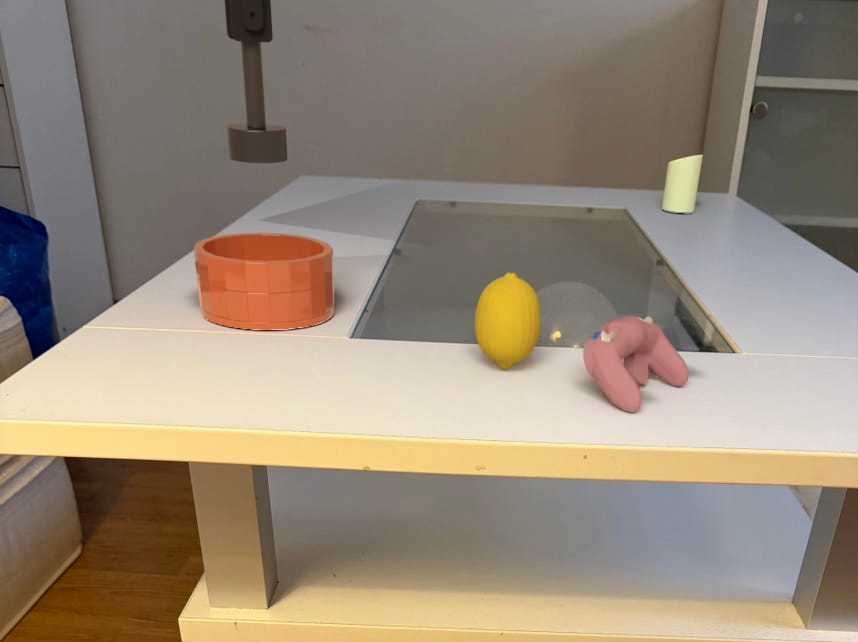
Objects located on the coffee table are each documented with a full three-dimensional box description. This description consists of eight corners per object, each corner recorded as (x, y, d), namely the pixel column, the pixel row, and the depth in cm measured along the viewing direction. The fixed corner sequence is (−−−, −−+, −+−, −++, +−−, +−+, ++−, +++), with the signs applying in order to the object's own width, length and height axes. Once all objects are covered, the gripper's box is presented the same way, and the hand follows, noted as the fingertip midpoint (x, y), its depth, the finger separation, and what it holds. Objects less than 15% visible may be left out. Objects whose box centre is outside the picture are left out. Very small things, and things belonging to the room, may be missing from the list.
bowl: (212, 334, 88) (205, 265, 85) (192, 298, 98) (185, 234, 94) (349, 327, 92) (347, 260, 89) (316, 292, 102) (314, 231, 99)
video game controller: (648, 393, 86) (626, 313, 84) (695, 381, 82) (673, 298, 81) (591, 424, 79) (565, 337, 77) (639, 412, 76) (614, 321, 74)
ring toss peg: (234, 163, 84) (218, -44, 76) (225, 154, 87) (208, -44, 79) (293, 163, 85) (282, -40, 77) (281, 154, 89) (270, -40, 81)
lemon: (462, 361, 85) (466, 266, 81) (520, 356, 87) (527, 263, 83) (488, 382, 81) (493, 282, 77) (547, 376, 83) (556, 279, 79)
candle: (658, 211, 152) (666, 153, 147) (665, 207, 156) (674, 149, 151) (689, 215, 150) (699, 156, 146) (696, 211, 154) (706, 153, 150)
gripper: (163, -246, 76) (190, 33, 86) (191, -285, 64) (219, 45, 74) (260, -233, 78) (275, 36, 89) (305, -268, 66) (317, 48, 77)
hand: (249, 38), depth 81 cm, fingers closed on ring toss peg
